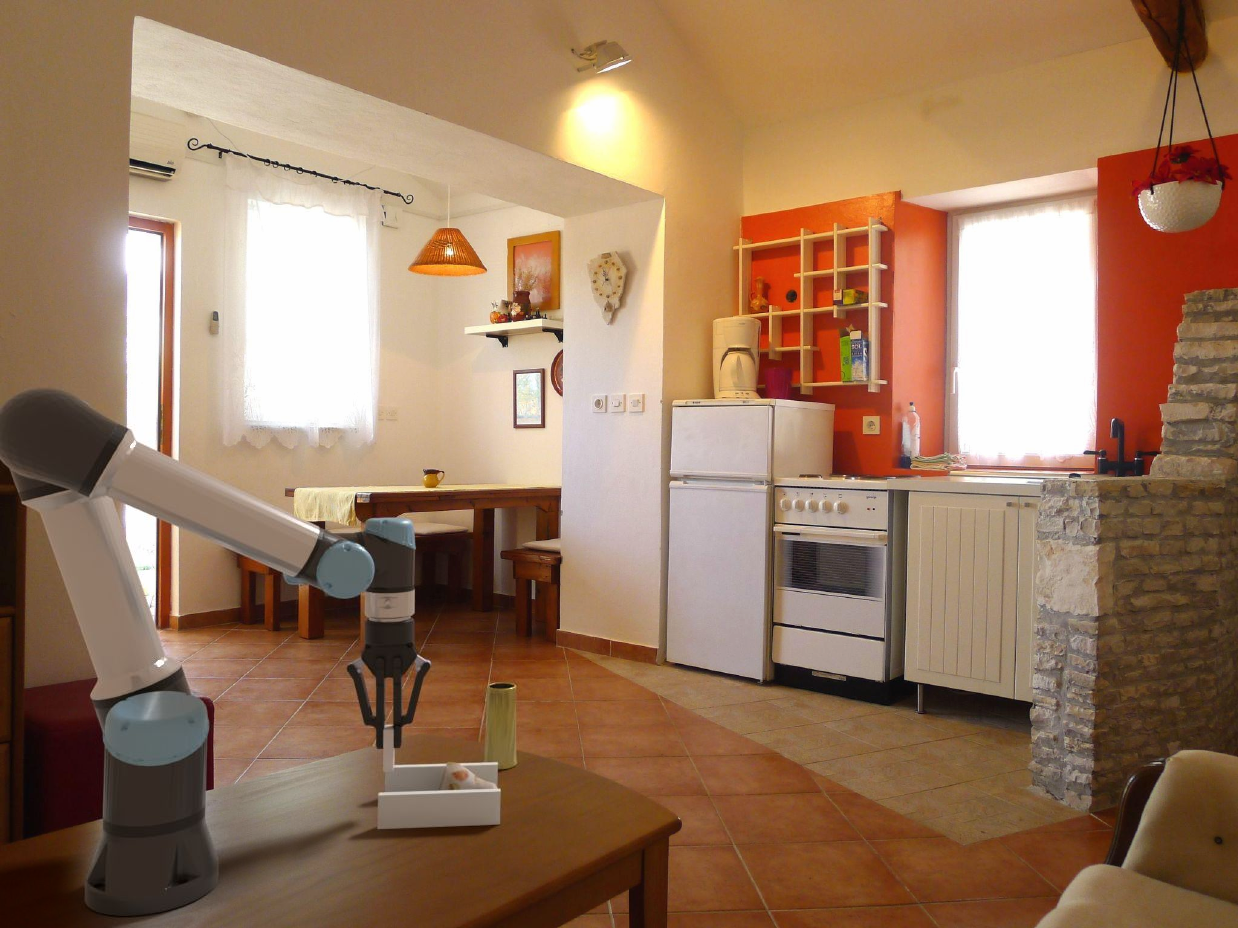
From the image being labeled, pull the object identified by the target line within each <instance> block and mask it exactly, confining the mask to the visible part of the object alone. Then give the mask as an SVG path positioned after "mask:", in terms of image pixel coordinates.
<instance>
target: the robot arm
mask: <svg viewBox="0 0 1238 928" xmlns="http://www.w3.org/2000/svg"><path fill="white" fill-rule="evenodd" d="M0 461H1V462H2V464H3V465H5V466H6V467H7V468H9V471H10V473H11V477H12V479H13V483H14V485H15V487H16V489H17V493H18V496H19V499H20V501H21V504H22V505H24V506H26V507H28V508H30V509H32V510H35V511H37V512H38V513H39V514H40V515H39V516H40V517H41V520H42V524H43V525H44V529H45V532H46V534H47V537H48V540H49V543H50V546H51V549H52V552H53V554H54V557H55V560H56V563H57V567H58V568H59V571H60V574H61V578H62V581H63V583H64V586H65V588H66V591H67V595H68V597H69V601H70V603H71V605H72V609H73V611H74V614H75V617H76V620H77V623H78V625H79V628H80V631H81V634H82V637H83V640H84V642H85V644H86V645H85V646H86V648H87V652H88V654H89V657H90V659H91V663H92V666H93V668H94V671H95V674H96V676H97V682H96V683H95V685H94V687H93V689H92V691H91V693H90V699H91V701H92V706H93V708H94V710H95V713H96V717H97V719H98V722H99V725H100V728H101V731H102V741H103V744H104V745H103V747H104V748H103V749H104V752H103V753H104V755H103V793H102V796H103V798H102V833H101V837H100V840H99V842H98V845H97V847H96V850H95V854H94V856H93V859H92V861H91V865H90V867H89V869H88V873H87V875H86V877H85V881H84V904H86V906H87V907H88V908H89V909H91V911H94V912H96V913H99V914H104V915H110V916H117V917H118V916H120V917H125V916H126V917H129V916H130V917H131V916H143V915H150V914H157V913H160V912H161V913H162V912H166V911H170V910H173V909H177V908H179V907H182V906H186V905H188V904H190V903H192V902H195V901H197V900H199V899H201V898H202V897H204V896H205V895H208V893H209V892H211V891H212V890H213V889H214V888H215V887H216V885H217V884H218V882H219V877H220V875H219V874H220V873H219V872H220V860H219V857H218V854H217V851H216V848H215V845H214V841H213V839H212V836H211V833H210V831H209V827H208V824H207V821H206V820H207V819H206V807H207V806H206V804H207V802H206V801H207V797H206V795H207V758H208V757H207V756H208V755H207V754H208V753H207V752H208V734H209V731H210V720H209V717H208V710H207V709H208V708H207V705H206V704H205V703H204V701H203V700H202V699H201V698H199V697H197V696H196V695H194V694H192V692H191V689H190V686H189V683H188V680H187V677H186V674H185V671H184V668H183V665H182V663H181V661H179V660H177V659H175V658H172V657H170V656H168V655H167V654H166V653H165V650H164V647H163V643H162V641H161V638H160V636H159V632H158V629H157V626H156V624H155V620H154V618H153V617H154V616H153V615H152V612H151V608H150V605H149V602H148V599H147V597H146V593H145V591H144V588H143V585H142V582H141V579H140V577H139V574H138V570H137V566H136V564H135V562H134V559H133V555H132V553H131V549H130V547H129V543H128V541H127V537H126V535H125V532H124V529H123V527H122V523H121V520H120V518H119V514H118V511H117V508H116V506H115V503H114V502H115V501H114V500H116V501H118V502H120V503H123V504H125V505H127V506H129V507H131V508H133V509H136V510H138V511H140V512H143V513H145V514H148V515H150V516H152V517H154V518H157V519H158V520H160V521H161V520H162V521H163V522H166V523H168V524H171V525H173V526H175V527H177V528H180V529H182V530H184V531H186V532H189V533H192V534H193V535H195V536H197V537H201V538H203V539H206V540H208V541H210V542H211V543H214V544H216V545H219V546H221V547H223V548H226V549H228V550H231V551H233V552H235V553H237V554H240V555H242V556H243V557H247V558H249V559H250V560H253V561H256V562H258V563H260V564H263V565H264V566H265V565H266V566H267V567H269V568H272V569H273V570H276V571H278V572H281V573H282V577H283V579H284V581H285V582H286V583H287V584H288V585H293V586H294V585H301V586H308V585H310V586H312V587H314V588H317V589H319V590H321V591H323V592H324V593H325V594H326V595H327V596H330V597H333V598H337V599H351V598H355V597H358V596H359V595H361V594H363V593H364V616H365V617H367V619H366V620H365V621H364V647H363V650H362V651H361V654H360V657H358V658H357V659H355V660H354V661H353V660H352V661H349V663H348V664H347V666H346V672H347V673H348V674H349V676H350V678H351V679H352V681H353V684H354V688H355V692H356V695H357V696H356V697H357V700H358V704H359V707H360V708H359V709H360V711H361V712H360V713H361V716H362V720H363V721H362V722H363V724H364V725H365V726H370V727H373V728H374V729H375V747H376V749H377V750H382V751H383V752H382V755H383V757H382V760H383V761H382V763H383V765H382V769H383V770H382V772H383V773H385V772H393V770H394V765H395V749H401V747H402V745H403V744H402V743H403V742H402V741H403V727H405V726H406V725H410V724H412V723H413V722H414V718H415V715H416V710H417V705H418V702H419V697H420V694H421V690H422V686H423V681H424V678H425V676H426V675H427V673H429V671H430V669H431V666H432V661H431V660H430V659H429V658H428V659H425V658H423V657H422V656H421V655H419V654H418V653H419V652H418V649H417V647H416V645H415V619H414V618H413V617H411V616H413V615H414V614H415V613H416V612H415V606H416V605H415V602H416V600H415V599H416V598H415V593H416V592H415V590H416V589H415V566H416V565H415V563H416V559H415V558H416V557H415V556H416V550H417V549H416V548H417V546H416V538H415V535H416V534H415V526H414V523H413V521H412V520H411V519H408V518H406V517H373V518H369V519H367V520H365V523H364V528H363V531H362V530H361V531H360V530H359V531H355V532H331V531H329V530H326V529H325V528H321V527H320V526H318V525H316V524H314V523H312V522H310V521H308V520H306V519H303V518H301V517H300V516H297V515H295V514H293V513H292V512H288V511H286V510H285V509H282V508H280V507H277V506H275V505H273V504H271V503H269V502H267V501H265V500H263V499H260V498H258V497H256V496H254V495H252V494H251V493H248V492H246V491H245V490H244V491H243V490H241V489H239V488H238V487H235V486H233V485H231V484H228V483H226V482H224V481H222V480H220V479H218V478H216V477H214V476H211V475H209V474H207V473H205V472H203V471H201V470H199V469H197V468H194V467H192V466H190V465H189V464H186V463H184V462H182V461H180V460H177V459H175V458H174V457H171V456H169V455H166V454H164V453H163V452H160V451H158V450H156V449H154V448H152V447H149V446H147V445H145V444H143V443H141V442H139V441H137V440H136V438H135V436H134V433H133V431H132V429H131V428H128V427H126V426H124V425H121V424H120V423H118V422H116V421H115V420H112V419H111V418H108V417H107V416H105V415H104V414H102V413H101V412H99V411H97V410H96V409H94V408H93V407H92V406H91V405H90V404H89V403H88V402H86V401H85V400H84V399H82V398H80V397H79V396H78V395H76V394H74V393H72V392H69V391H66V390H65V389H61V388H55V387H35V388H29V389H25V390H23V391H20V392H18V393H16V394H14V395H13V396H11V397H9V399H8V400H6V401H5V402H4V403H2V405H1V406H0ZM414 663H415V665H414V670H415V672H416V674H415V678H414V682H413V686H412V690H411V694H410V698H409V703H408V706H407V710H406V713H405V714H403V677H404V675H406V673H407V672H408V671H409V669H410V668H411V667H412V665H413V664H414ZM364 665H365V666H366V667H367V669H368V670H369V671H370V673H371V674H372V675H373V676H374V677H375V715H374V713H373V709H372V706H371V705H372V704H371V701H370V696H369V693H368V689H367V685H366V681H365V678H364V677H365V676H364V673H363V672H364V670H365V666H364ZM387 678H391V679H392V686H393V688H392V690H393V691H392V693H393V695H392V697H393V698H392V703H393V704H392V709H393V710H392V722H393V723H392V724H386V720H387V719H386V681H387Z"/></svg>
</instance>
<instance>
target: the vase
mask: <svg viewBox="0 0 1238 928" xmlns="http://www.w3.org/2000/svg"><path fill="white" fill-rule="evenodd" d="M485 706H486V708H485V709H486V713H485V716H486V717H485V719H486V720H485V721H486V722H485V739H484V749H483V751H484V753H483V761H482V763H489V762H498V770H508V769H512V768H514V767H515V766H516V765H517V764H518V759H517V685H516V684H515V683H512V682H504V681H502V682H501V681H500V682H491V683H489V684H488V685H487V686H486V705H485Z"/></svg>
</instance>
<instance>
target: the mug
mask: <svg viewBox="0 0 1238 928" xmlns="http://www.w3.org/2000/svg"><path fill="white" fill-rule="evenodd" d="M458 763H459V762H453V761H447V762H446V763H445V764H446V767H445V770H444V773H443V777H442V780H441V783H440V786H439V789H438V791H442V790H473V789H499V788H498V786H497V787H496V785H495V784H494V783H491V782H488V781H485V780H482V779H480V778H478V777H477V776H476V775H474V774H473V773H472V772H470V771H469V770H468V769H467V768H465V767H464V766H462V765H460V764H458Z"/></svg>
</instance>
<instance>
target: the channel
mask: <svg viewBox="0 0 1238 928" xmlns="http://www.w3.org/2000/svg"><path fill="white" fill-rule="evenodd" d="M457 763H458V764H460V765H462V766H464V767H465V768H467V769H468V770H469V771H470V772H472V773H473V774H474V775H476V776H477V777H478V778H480V779H482V780H485V781H488V782H491V783H494V784H495V785H496V787H497V788H498V782H499V781H498V776H499V774H498V773H499V772H498V762H489V763H483V762H462V763H460V762H457ZM446 764H447V763H429V764H428V763H425V764H423V763H422V764H419V763H418V764H394V770H393V772H384V775H385V776H384V778H385V779H384V791H383V792H378V795H377V827H376V828H377V830H389V829H390V830H391V829H393V830H394V829H417V828H419V829H420V828H438V827H439V828H442V827H445V828H447V827H467V826H491V825H493V826H494V825H501V788H498V789H473V790H442V791H438V789H439V786H440V783H441V780H442V777H443V773H444V770H445V767H446Z"/></svg>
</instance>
